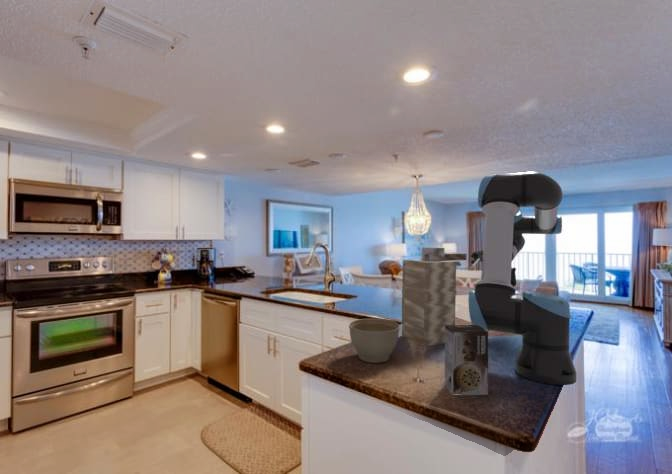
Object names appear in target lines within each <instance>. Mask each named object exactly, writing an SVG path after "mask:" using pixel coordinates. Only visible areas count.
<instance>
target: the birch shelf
mask: <svg viewBox="0 0 672 474" xmlns="http://www.w3.org/2000/svg"><path fill="white" fill-rule="evenodd" d="M460 265H461V261H460V260H447V261H424V260H422V258H421V259H419V258H418V259H402V290H401V291H402V295H401V296H402V297H401V300H402V301H401V337H404V338H406V339H408V340H410V341H412V342H415V343H416V344H417V343H418V344H420V345H422V346H425V347H430V346H436V345H441V344H445V325H456V296H457V295H456V293H457V291H456V288H457V287H456V286H457V285H456V284H457V266H460Z"/></svg>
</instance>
